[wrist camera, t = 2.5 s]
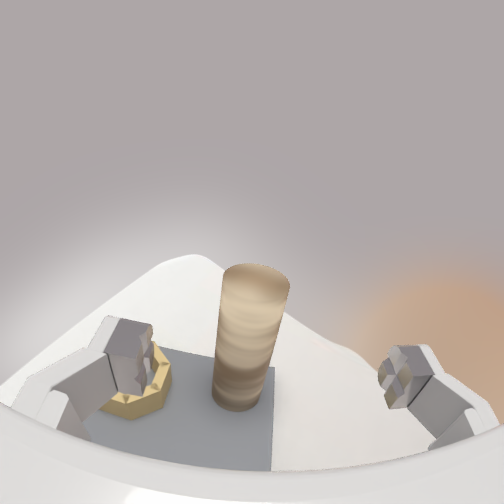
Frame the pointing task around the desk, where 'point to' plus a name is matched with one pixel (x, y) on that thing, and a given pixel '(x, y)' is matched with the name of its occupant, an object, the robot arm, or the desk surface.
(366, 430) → the desk surface
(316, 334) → the desk surface
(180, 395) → the socket board
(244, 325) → the ash peg
